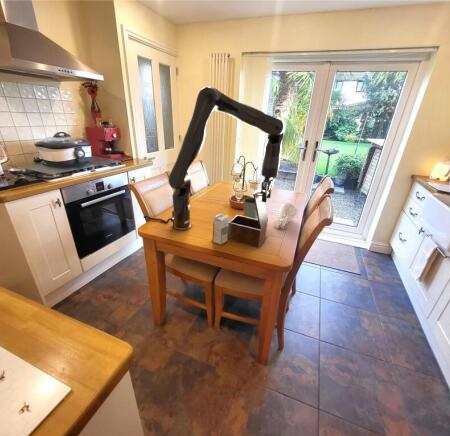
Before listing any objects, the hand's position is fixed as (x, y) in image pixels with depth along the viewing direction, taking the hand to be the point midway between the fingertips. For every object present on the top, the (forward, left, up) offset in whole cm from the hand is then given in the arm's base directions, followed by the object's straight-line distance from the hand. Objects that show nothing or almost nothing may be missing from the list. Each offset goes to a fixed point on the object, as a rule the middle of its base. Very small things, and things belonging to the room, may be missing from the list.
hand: (265, 199), depth 114 cm
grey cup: (-16, +26, -24) cm, 39 cm away
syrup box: (-19, -10, -24) cm, 32 cm away
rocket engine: (+4, +29, -24) cm, 38 cm away
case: (-8, 0, -24) cm, 25 cm away
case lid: (-2, 0, -5) cm, 6 cm away
